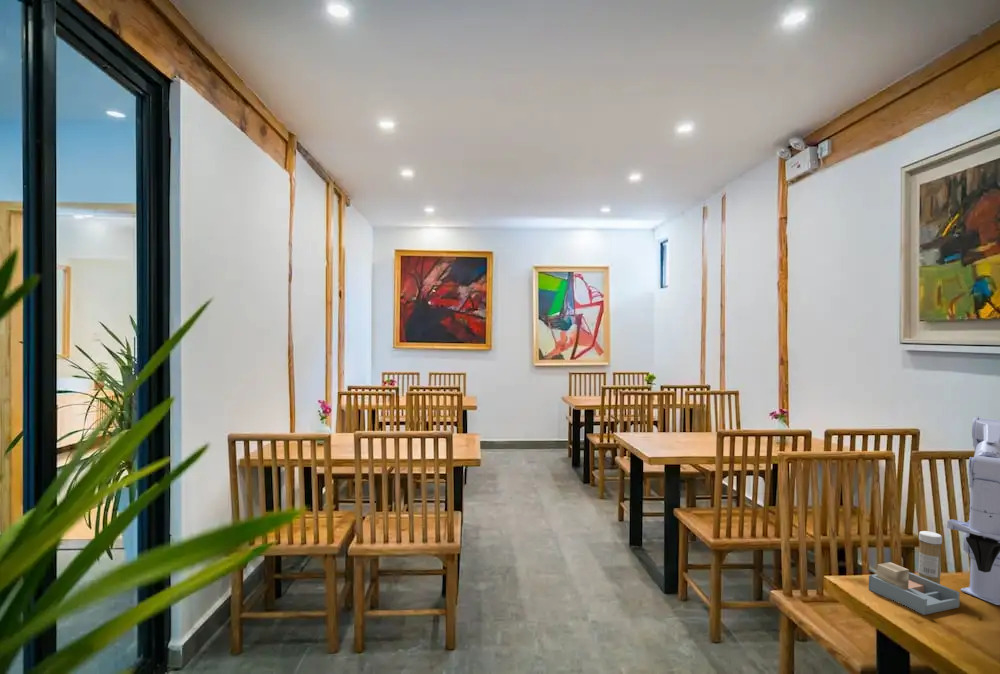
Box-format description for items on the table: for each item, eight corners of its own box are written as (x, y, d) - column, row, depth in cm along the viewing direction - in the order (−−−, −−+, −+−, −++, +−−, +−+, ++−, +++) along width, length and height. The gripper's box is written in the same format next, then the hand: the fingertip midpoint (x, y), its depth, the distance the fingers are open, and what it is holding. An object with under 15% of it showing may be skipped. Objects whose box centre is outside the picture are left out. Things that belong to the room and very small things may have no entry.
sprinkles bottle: (943, 588, 140) (945, 534, 140) (936, 592, 137) (937, 538, 137) (921, 581, 144) (923, 529, 143) (914, 585, 141) (916, 532, 141)
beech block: (889, 580, 139) (890, 562, 139) (908, 588, 135) (908, 569, 135) (876, 582, 137) (877, 564, 137) (895, 590, 133) (896, 571, 133)
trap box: (902, 583, 142) (902, 569, 142) (959, 607, 130) (959, 592, 130) (868, 589, 138) (869, 575, 138) (924, 615, 126) (924, 599, 126)
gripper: (939, 502, 131) (937, 560, 131) (1014, 521, 117) (1011, 586, 117) (959, 500, 133) (957, 557, 133) (1034, 519, 120) (1032, 582, 120)
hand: (984, 570), depth 126 cm, fingers closed
